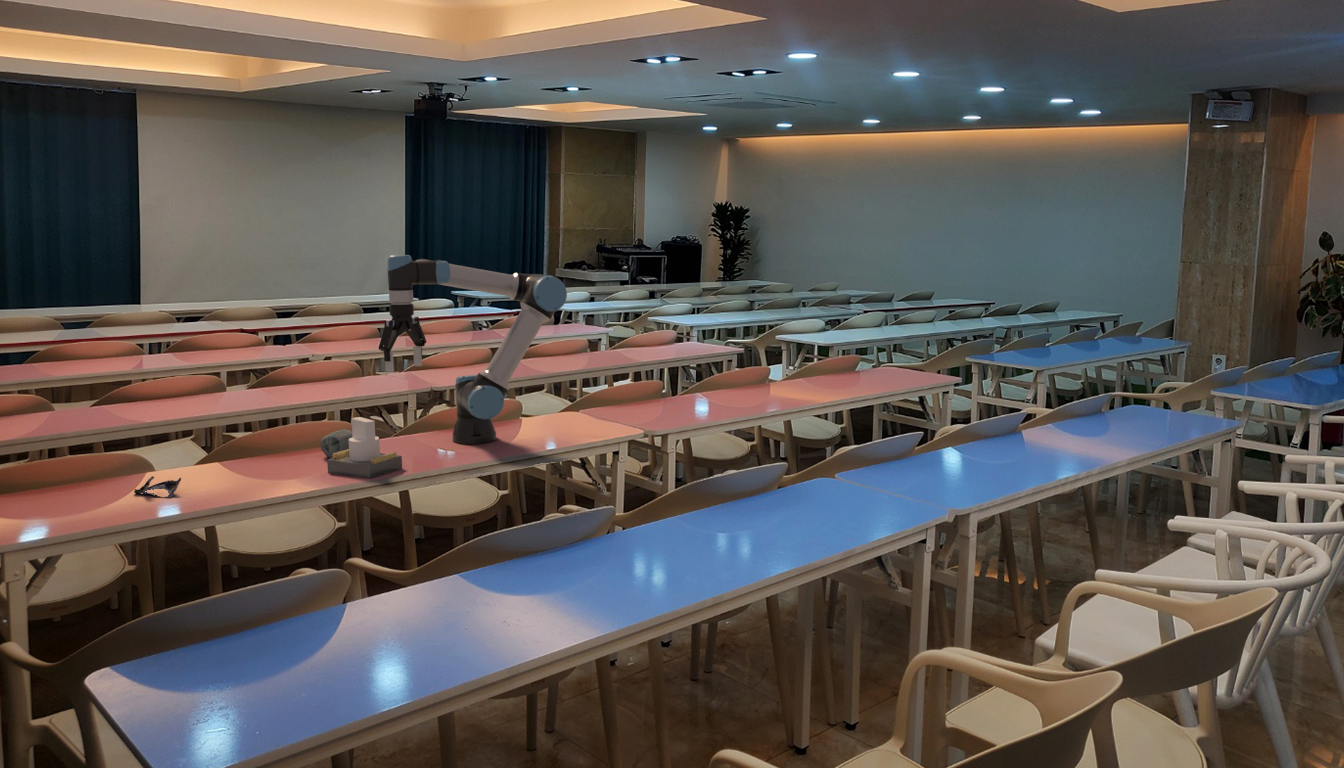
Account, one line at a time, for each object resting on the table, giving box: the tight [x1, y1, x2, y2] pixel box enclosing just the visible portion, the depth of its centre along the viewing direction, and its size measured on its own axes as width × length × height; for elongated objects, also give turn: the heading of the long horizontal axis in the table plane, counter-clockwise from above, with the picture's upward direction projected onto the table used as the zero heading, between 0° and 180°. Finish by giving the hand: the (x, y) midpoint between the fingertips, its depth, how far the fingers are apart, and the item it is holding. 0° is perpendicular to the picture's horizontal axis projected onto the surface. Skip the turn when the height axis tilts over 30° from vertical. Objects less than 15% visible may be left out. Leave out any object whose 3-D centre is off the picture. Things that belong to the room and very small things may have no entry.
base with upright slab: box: [349, 416, 381, 461], centre depth 306 cm, size 9×9×12 cm
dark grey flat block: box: [326, 449, 403, 480], centre depth 307 cm, size 14×17×6 cm
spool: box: [320, 429, 352, 459], centre depth 327 cm, size 14×10×10 cm
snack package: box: [133, 476, 182, 498], centre depth 281 cm, size 12×7×12 cm
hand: (404, 368), depth 323 cm, fingers open, 13 cm apart
